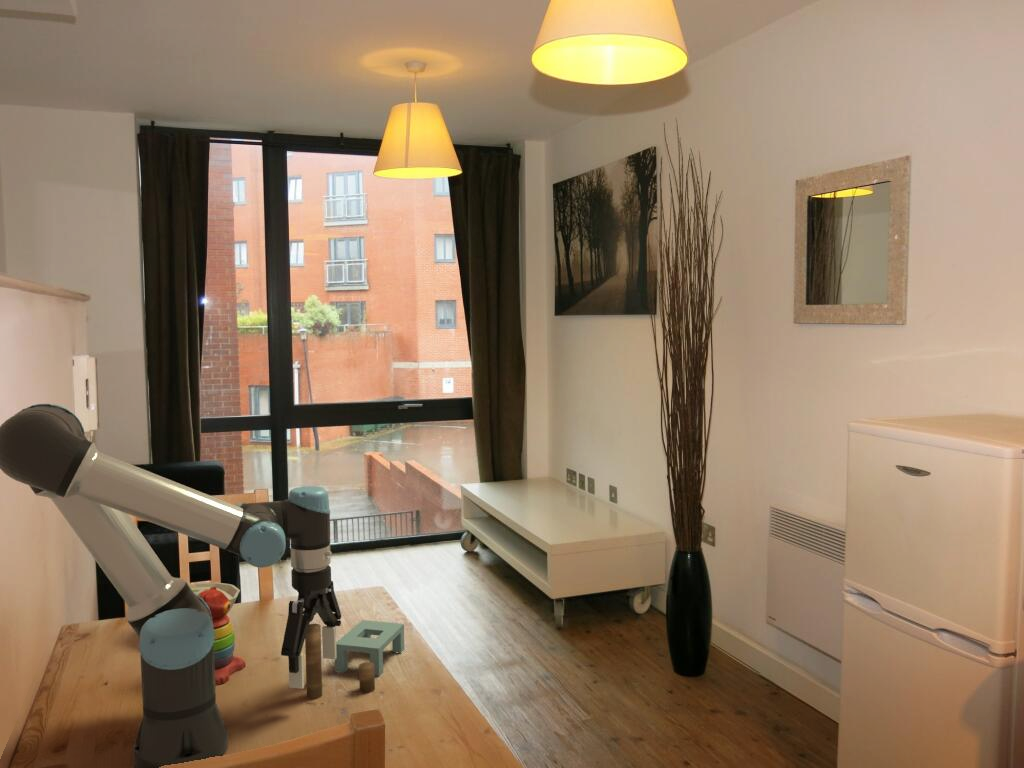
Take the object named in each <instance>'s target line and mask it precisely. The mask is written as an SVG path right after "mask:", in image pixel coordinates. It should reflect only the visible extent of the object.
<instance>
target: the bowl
mask: <svg viewBox="0 0 1024 768" xmlns="http://www.w3.org/2000/svg"><path fill="white" fill-rule="evenodd" d="M188 585H189V587H190V588H191V590H192V591H193V592H194V593H195V594H196V595H198V594H199V593H201V592H203V591H206V590H210V588H211V587H216V589H217V590H219V591H221V592H222V593H223V594H224V595H225V596H226V597H227V598H228V599H229V601H230V604H231V606H230V609H229V611H228V612H227V614H226V615H227V616H228V613H230V611H231V610H232V608H233V606H234V604H235V602H236V600H237V598H238V595H239V594H240V591H241V589H239V588H238V587H237V586H235V585H234V584H230V583H223V582H222V583H221V582H217V581H215V582H197V583H189V584H188Z"/></svg>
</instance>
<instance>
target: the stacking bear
mask: <svg viewBox="0 0 1024 768" xmlns="http://www.w3.org/2000/svg"><path fill="white" fill-rule="evenodd" d="M198 596H199V597H201V598H202V599H203V600H204V601H205V603H206V604H207V605H208V607H209V609H210V612H211V616H212V620H213V628H214V632H215V640H214V661H215V686H217V685H223V684H225V683H226V682H228V681H229V680H230V676H231V675H232V674H233V673H235V672H239V671H241V670H243V669H244V668H245V667H246V662H245V660H244V659H243V658H242V657H238V656H234V651H235V644H236V641H235V640H236V638H235V632H234V629H233V626H232V623H231V620H230V617H229V616H228V613H229V612H230V611H229V609H230V606H231V604H230V601H229V599H228V598H227V597H226V596H225V595H224V594H223V593H222V592H221V591H219V590H217V589H216V587H211V588H210V590H206V591H203V592H201V593H199V594H198ZM228 611H229V612H228ZM227 612H228V613H227ZM226 614H227V615H226Z"/></svg>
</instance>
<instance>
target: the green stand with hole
mask: <svg viewBox="0 0 1024 768" xmlns="http://www.w3.org/2000/svg"><path fill="white" fill-rule="evenodd" d="M372 636H377V637H376V638H373V637H372ZM391 643H392V644H391ZM390 644H391V645H392V647H391V648H392V653H393V652H398V653H397V654H400V653H401V652H402V651H403V650H404V651H405V624H404V623H399V622H397V623H396V622H390V621H389V622H387V621H379V620H378V621H377V620H367V619H362V620H360V621H359V622H358V623H357V624H356V625H355V626H354V627H352V628H351V629H350V630H348V632H347V633H345V634H344V635H343V636H342V637H341V638H339V640H336V653H337V658H336V659H334V672H335V673H336V672H337V673H345V672H346V671H348V669H349V659H348V658H349V657H348V656H349V655H348V654H349V653H348V652H355V653H363V654H364V653H365V654H369V662H371V663H374V669H375V677H378V676H379V677H380V676H382V674H383V673H384V658H383V657H384V652H383V651H384V650H385V649H386V648H387V647H388V646H389V645H390ZM404 651H403V652H404ZM403 652H402V653H403ZM402 653H401V654H402Z"/></svg>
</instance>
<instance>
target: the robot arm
mask: <svg viewBox="0 0 1024 768" xmlns="http://www.w3.org/2000/svg"><path fill="white" fill-rule="evenodd" d="M0 470H1V472H3V474H5V475H6V476H8V477H9V478H10V479H12V480H15V481H16V482H19V483H21V484H23V485H27V486H29V488H30V489H31V491H32V492H33V493H34V494H35V496H38V497H45V498H48V499H50V500H51V501H52V502H53V504H54V505H55V507H56V508H57V509H58V510H59V512H60V513H61V515H62V516H63V518H64V519H65V520H66V522H67V523H68V524H69V526H70V527H71V528H72V530H73V531H74V533H75V534H76V536H77V538H79V540H80V541H81V542H82V544H83V545H84V546H85V548H86V549H87V550H88V553H89V554H90V555H91V556H92V558H93V559H94V560H95V562H96V563H97V564H98V566H99V568H101V570H102V571H103V573H104V575H105V576H106V578H107V579H108V581H110V582H111V584H112V585H113V587H114V588H115V589H116V591H117V593H118V594H119V595H120V597H121V598H122V599H123V600H124V602H125V603H126V605H127V611H126V616H125V620H126V621H127V622H128V624H129V625H130V627H131V628H132V630H133V631H134V632H135V633H136V635H137V636H138V637H139V640H138V651H139V653H140V674H141V677H140V678H141V694H142V695H141V697H142V717H141V722H140V724H139V728H138V731H137V734H136V737H135V741H134V744H133V750H132V753H133V756H132V757H133V765H134V766H135V768H159V767H161V766H164V765H171V764H178V763H184V762H189V761H194V760H201V759H206V758H209V757H215V756H221V755H222V756H224V754H226V751H228V750H227V749H228V747H229V732H228V729H227V727H226V725H225V723H224V720H223V718H222V715H221V712H220V709H219V706H218V704H217V697H216V695H217V693H216V690H217V689H216V685H215V661H214V640H215V632H214V628H213V620H212V616H211V612H210V609H209V607H208V605H207V604H206V603H205V601H204V600H203V599H202V598H201V597H199V596H198V595H196V594H195V593H194V592H193V591H192V590H191V588H190V587H189V585H190V584H188V583H187V580H185V579H184V578H181V577H174V576H172V575H171V573H169V571H168V569H167V568H166V567H165V565H164V564H163V562H162V561H161V560H160V558H159V557H158V555H157V554H156V552H155V551H154V550H153V548H152V547H151V545H150V543H149V542H148V540H147V539H146V538H145V537H144V535H143V533H142V532H141V530H139V528H138V526H137V525H136V524H135V522H134V521H133V519H132V517H130V516H133V517H136V518H139V519H141V520H144V521H147V522H148V523H152V524H155V525H157V526H160V527H161V528H166V529H168V530H170V531H174V532H177V533H179V534H182V535H185V536H187V537H189V538H192V539H195V540H198V541H201V542H203V543H207V544H209V545H212V546H215V547H217V548H220V549H222V550H224V551H227V552H230V553H233V554H235V555H238V556H240V557H241V558H242V559H243V560H244V561H246V562H247V563H248V564H249V565H250V566H253V567H255V568H268V567H271V566H274V565H275V564H277V563H278V562H279V560H281V558H282V557H283V556H284V554H285V551H286V547H287V546H286V545H287V543H286V541H287V540H290V566H291V568H292V569H291V570H290V571H291V572H290V573H291V587H292V589H294V590H295V591H297V593H298V595H297V600H290V601H289V602H288V614H287V619H286V620H287V621H286V623H285V625H286V626H285V631H284V635H283V640H282V645H281V649H280V650H281V651H280V654H281V655H280V656H283V657H288V682H289V683H288V684H289V685H288V686H289V687H288V688H294V689H300V690H301V689H304V688H305V667H304V666H305V665H304V664H305V662H304V653H302V649H303V646H304V645H305V644H304V643H305V637H306V634H307V630H308V627H309V624H311V622H312V621H313V620H314V617H315V615H316V614H318V616H319V618H320V620H321V621H322V623H323V624H324V625H323V626H321V645H322V659H327V660H335V659H336V658H337V653H336V642H337V627H341V626H342V625H341V624H342V620H341V619H342V613H341V610H340V606H339V602H338V600H337V596H336V593H335V589H334V581H333V580H332V567H331V566H330V564H331V561H332V560H331V556H332V555H333V552H332V551H331V514H330V513H331V510H330V499H329V497H330V496H329V492H328V490H327V489H326V488H324V487H323V486H318V485H308V486H307V485H305V486H299V487H294V488H292V489H291V490H290V491H289V493H288V496H287V499H284V500H276V501H275V500H274V501H263V502H262V501H261V502H251V503H249V502H247V503H246V502H242V503H239V504H233V503H230V502H227V501H225V500H222V499H220V498H217V497H215V496H213V495H210V494H208V493H204V492H202V491H200V490H196V489H194V488H192V487H189V486H186V485H185V484H181V483H179V482H176V481H174V480H172V479H169V478H166V477H163V476H161V475H158V474H156V473H153V472H152V471H149V470H146V469H144V468H141V467H138V466H136V465H133V464H131V463H128V462H126V461H123V460H120V459H118V458H115V457H113V456H110V455H108V454H105V453H103V452H101V451H99V450H98V448H97V445H96V444H95V442H93V441H90V440H88V437H86V434H85V429H84V427H83V424H82V422H81V420H80V419H79V417H77V416H76V414H74V413H73V412H72V411H71V410H69V409H67V408H66V407H64V406H61V405H58V404H51V403H38V404H33V405H30V406H28V407H26V408H23V409H21V410H20V411H18V412H17V413H15V414H13V416H11V417H9V418H8V419H6V420H5V421H4V422H3V423H2V424H0ZM222 756H221V757H222Z"/></svg>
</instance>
